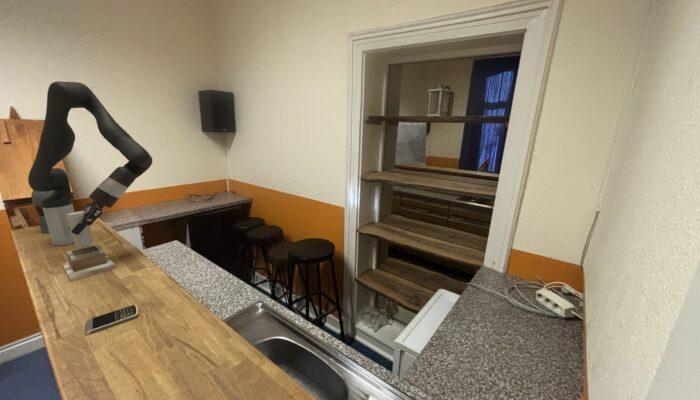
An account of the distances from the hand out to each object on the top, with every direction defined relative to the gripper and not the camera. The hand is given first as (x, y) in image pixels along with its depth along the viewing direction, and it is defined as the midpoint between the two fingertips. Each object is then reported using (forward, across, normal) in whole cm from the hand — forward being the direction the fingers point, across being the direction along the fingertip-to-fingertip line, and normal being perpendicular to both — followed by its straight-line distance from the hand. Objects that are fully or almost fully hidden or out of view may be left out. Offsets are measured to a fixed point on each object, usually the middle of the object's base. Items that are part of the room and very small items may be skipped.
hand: (73, 231), depth 98 cm
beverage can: (+3, 0, +6) cm, 6 cm away
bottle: (+11, -65, +10) cm, 67 cm away
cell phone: (+11, +44, +11) cm, 46 cm away
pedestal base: (+9, 0, +12) cm, 15 cm away
